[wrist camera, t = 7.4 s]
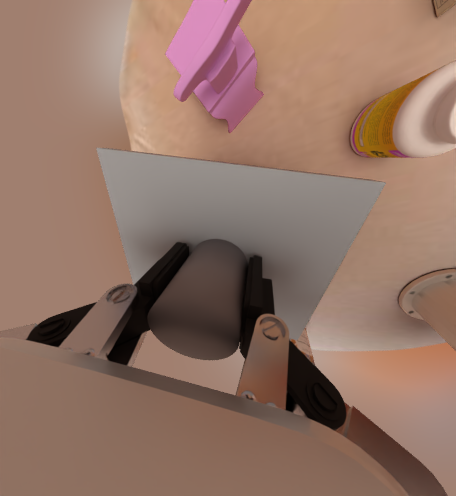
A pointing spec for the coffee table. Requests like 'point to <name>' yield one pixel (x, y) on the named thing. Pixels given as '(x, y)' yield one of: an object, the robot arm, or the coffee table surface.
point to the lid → (231, 239)
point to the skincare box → (443, 6)
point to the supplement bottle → (410, 119)
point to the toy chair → (216, 60)
